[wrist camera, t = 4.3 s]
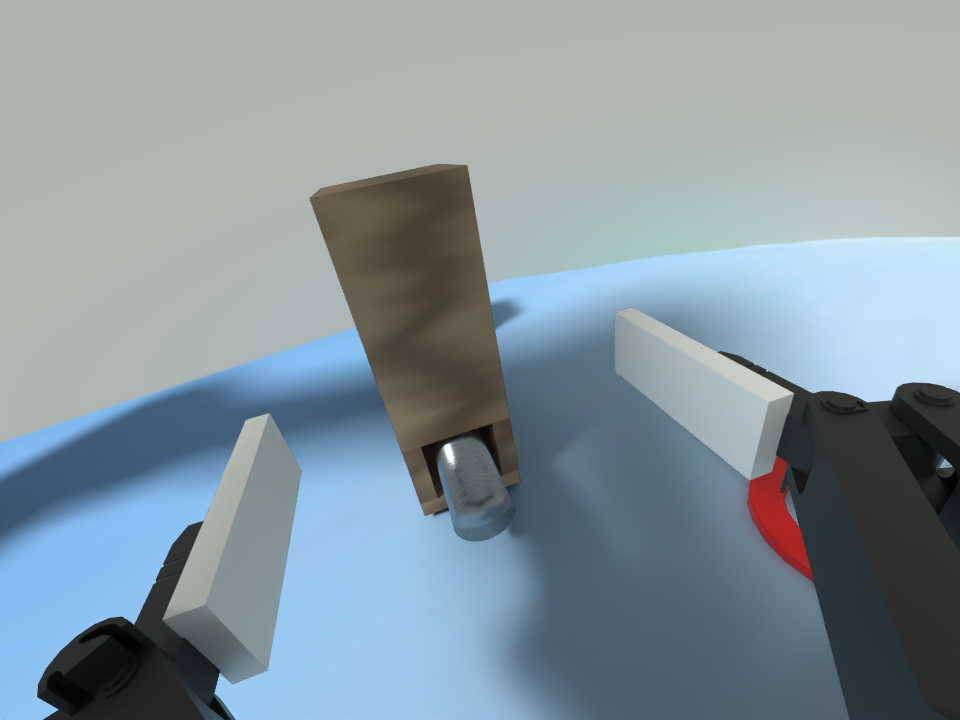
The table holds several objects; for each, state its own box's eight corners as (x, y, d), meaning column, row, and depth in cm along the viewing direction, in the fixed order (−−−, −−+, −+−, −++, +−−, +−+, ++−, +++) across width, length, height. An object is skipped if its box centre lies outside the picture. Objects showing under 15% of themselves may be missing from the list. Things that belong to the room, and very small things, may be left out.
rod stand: (400, 600, 19) (337, 469, 15) (373, 352, 44) (346, 275, 40) (583, 528, 21) (575, 391, 16) (458, 328, 46) (441, 252, 41)
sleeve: (424, 515, 23) (309, 198, 14) (411, 450, 28) (320, 188, 19) (520, 481, 24) (467, 165, 15) (490, 424, 29) (438, 163, 20)
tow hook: (805, 623, 16) (1095, 624, 14) (899, 355, 10) (1434, 293, 8) (719, 470, 23) (904, 457, 21) (743, 259, 17) (1005, 216, 15)
